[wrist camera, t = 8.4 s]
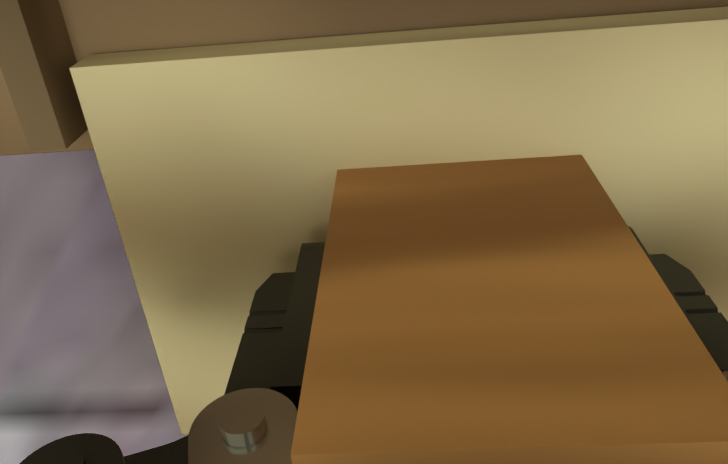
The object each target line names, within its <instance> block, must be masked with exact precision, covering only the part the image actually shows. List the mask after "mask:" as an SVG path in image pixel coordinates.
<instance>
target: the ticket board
mask: <svg viewBox="0 0 728 464" xmlns="http://www.w3.org/2000/svg"><path fill="white" fill-rule="evenodd" d="M727 6H728V0H0V156H2V155H18V154H33V153H49V152H64V151H79V150H94V147H93V144H92V140H91V137H90V134H89V131H88V127H87V124H86V121H85V118H84V114H83V111H82V108H81V105H80V101H79V98H78V95H77V92H76V88H75V85H74V82H73V79H72V75H71V72H70V69H69V68H70V67H72V66H73V65H75V64H76V63H78V62H79V61H81V60H82V59H84V58H85V57H87V56H88V55H90V54H104V53H117V52H130V51H144V50H157V49H170V48H183V47H197V46H210V45H223V44H236V43H250V42H263V41H276V40H289V39H303V38H316V37H329V36H343V35H356V34H369V33H382V32H396V31H409V30H422V29H435V28H449V27H462V26H475V25H488V24H502V23H515V22H528V21H542V20H555V19H568V18H581V17H595V16H608V15H621V14H634V13H648V12H661V11H674V10H687V9H701V8H714V7H727Z"/></svg>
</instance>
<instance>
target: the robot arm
mask: <svg viewBox="0 0 728 464" xmlns="http://www.w3.org/2000/svg"><path fill="white" fill-rule="evenodd" d="M628 227H629V229H630V230H631V232H632V233H633V235H634V237H635V238H636V240H637V241H638V243H639V244H640V246H641V247H642V249H643V251H644V252H645V254H646V255H647V257H648V258H649V260H650V262H651V263H652V265H653V266H654V268H655V269H656V271H657V272H658V274H659V276H660V277H661V279H662V280H663V282H664V283H665V285H666V286H667V288H668V290H669V291H670V293H671V294H672V296H673V297H674V299H675V300H676V302H677V304H678V305H679V307H680V308H681V310H682V311H683V313H684V314H685V316H686V318H687V319H688V321H689V322H690V324H691V325H692V327H693V328H694V330H695V332H696V333H697V335H698V336H699V338H700V339H701V341H702V342H703V344H704V346H705V347H706V349H707V350H708V352H709V353H710V355H711V356H712V358H713V360H714V361H715V363H716V364H717V366H718V367H719V369H720V370H721V372H722V374H723V375H724V377H725V378H726V380H727V381H728V321H727V320H726V319H725V317H724V316H723V314H722V313H721V312H720V313H718V308H717V306H716V305H715V303H714V302H713V301H712V299H711V298H710V296H709V295H706V293H705V292H706V291H705V290H704V288H703V287H702V285H701V284H700V283H699V281H698V280H697V278H696V277H695V276H694V274H693V273H692V272H691V270H689V269H688V268H686V267H685V266H683V265H681V264H680V263H678V262H677V261H675V260H674V259H672V258H671V257H669V256H668V255H666V254H649V253H648V252H647V250H646V249H645V247H644V246H643V244H642V243H641V241H640V240H639V238H638V237H637V235H636V233H635V232H634V230H633V229H632V228H631V227H630V226H628ZM324 248H325V242H313V243H302V245H301V248H300V253H299V257H298V262H297V266H296V271H295V272H285V273H273V274H272V275H271V276H270V277H269V278H268V279H267V280H266V281H265V282H264V283H263V284H262V285H261V286H260V287H259V288H258V289H257V290H256V291H255V295H254V298H253V301H252V305H251V308H250V311H249V313H250V315H249V316H248V318H247V321H246V324H245V328H244V333H243V334H242V338H241V341H240V344H239V348H238V351H237V354H236V357H235V361H234V364H233V367H232V371H231V374H230V377H229V381H228V384H227V387H226V390H225V394H224V395H223V396H221V397H219V398H217V399H216V400H214V401H213V402H211V403H210V404H208V405H207V406H206V407H205V408H204V409H203V410H202V411H201V412H200V413H199V414H198V415H197V417H196V418H195V420H194V421H193V423H192V425H191V428H190V431H189V435H187V436H186V437H184V438H181V439H179V440H177V441H175V442H172V443H169V444H166V445H163V446H159V447H156V448H152V449H149V450H146V451H142V452H139V453H135V454H132V455H129V456H125V457H123V454H122V452H121V450H120V448H119V446H118V445H117V444H116V443H115V441H113V440H112V439H110V438H108V437H106V436H103V435H99V434H92V433H84V434H75V435H71V436H67V437H64V438H61V439H58V440H55V441H53V442H51V443H49V444H47V445H45V446H43V447H41V448H40V449H38V450H36V451H35V452H33V453H32V454H31V455H29V456H28V457H27V458H26V459H24V460H23V461H22V462H21V463H20V464H292V460H291V449H292V443H293V436H294V430H295V424H296V418H297V412H298V406H299V400H300V394H301V388H302V382H303V376H304V369H305V363H306V357H307V351H308V345H309V339H310V333H311V327H312V321H313V315H314V309H315V302H316V296H317V290H318V284H319V278H320V272H321V266H322V260H323V254H324Z"/></svg>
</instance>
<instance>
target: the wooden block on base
mask: <svg viewBox="0 0 728 464" xmlns="http://www.w3.org/2000/svg"><path fill="white" fill-rule="evenodd" d="M69 69H70V72H71V75H72V79H73V82H74V85H75V88H76V92H77V95H78V98H79V101H80V105H81V108H82V111H83V114H84V118H85V121H86V124H87V127H88V131H89V134H90V137H91V140H92V144H93V147H94V150H95V153H96V157H97V160H98V163H99V167H100V170H101V173H102V176H103V180H104V183H105V186H106V189H107V193H108V196H109V199H110V202H111V206H112V209H113V212H114V215H115V219H116V222H117V225H118V228H119V232H120V235H121V238H122V241H123V245H124V248H125V251H126V254H127V258H128V261H129V264H130V267H131V271H132V274H133V277H134V281H135V284H136V287H137V290H138V294H139V297H140V300H141V303H142V307H143V310H144V313H145V316H146V320H147V323H148V326H149V329H150V333H151V336H152V339H153V342H154V346H155V349H156V352H157V355H158V359H159V362H160V365H161V368H162V372H163V375H164V378H165V381H166V385H167V388H168V391H169V394H170V398H171V401H172V404H173V408H174V411H175V414H176V417H177V421H178V424H179V427H180V430H181V434H189V431H190V428H191V425H192V423H193V421H194V420H195V418H196V417H197V415H198V414H199V413H200V412H201V411H202V410H203V409H204V408H205V407H206V406H207V405H208V404H210V403H211V402H213V401H214V400H216V399H217V398H219V397H221V396H223V395H224V394H225V390H226V387H227V384H228V381H229V377H230V374H231V371H232V367H233V364H234V361H235V357H236V354H237V351H238V348H239V344H240V341H241V338H242V334H243V333H244V328H245V324H246V321H247V318H248V316H249V315H250V313H249V311H250V308H251V305H252V301H253V298H254V295H255V291H256V290H257V289H258V288H259V287H260V286H261V285H262V284H263V283H264V282H265V281H266V280H267V279H268V278H269V277H270V276H271V275H272V274H273V273H285V272H295V271H296V266H297V262H298V257H299V253H300V248H301V245H302V243H313V242H325V248H324V254H323V260H322V266H321V272H320V278H319V284H318V290H317V296H316V302H315V309H314V315H313V321H312V327H311V333H310V339H309V345H308V351H307V357H306V363H305V369H304V376H303V382H302V388H301V394H300V400H299V406H298V412H297V418H296V424H295V430H294V436H293V443H292V449H291V460H292V464H728V381H727V380H726V378H725V377H724V375H723V374H722V372H721V370H720V369H719V367H718V366H717V364H716V363H715V361H714V360H713V358H712V356H711V355H710V353H709V352H708V350H707V349H706V347H705V346H704V344H703V342H702V341H701V339H700V338H699V336H698V335H697V333H696V332H695V330H694V328H693V327H692V325H691V324H690V322H689V321H688V319H687V318H686V316H685V314H684V313H683V311H682V310H681V308H680V307H679V305H678V304H677V302H676V300H675V299H674V297H673V296H672V294H671V293H670V291H669V290H668V288H667V286H666V285H665V283H664V282H663V280H662V279H661V277H660V276H659V274H658V272H657V271H656V269H655V268H654V266H653V265H652V263H651V262H650V260H649V258H648V257H647V255H646V254H645V252H644V251H643V249H642V247H641V246H640V244H639V243H638V241H637V240H636V238H635V237H634V235H633V233H632V232H631V230H630V229H629V227H628V226H630V227H631V228H632V229H633V230H634V232H635V233H636V235H637V237H638V238H639V240H640V241H641V243H642V244H643V246H644V247H645V249H646V250H647V252H648V253H649V254H666V255H668V256H669V257H671V258H672V259H674V260H675V261H677V262H678V263H680V264H681V265H683V266H685V267H686V268H688V269H689V270H691V272H692V273H693V274H694V276H695V277H696V278H697V280H698V281H699V283H700V284H701V285H702V287H703V288H704V290H705V291H706V292H705V293H706V295H709V296H710V298H711V299H712V301H713V302H714V303H715V305H716V306H717V308H718V313H720V312H721V313H722V314H723V316H724V317H725V319H726V320H727V321H728V6H727V7H714V8H701V9H687V10H674V11H661V12H648V13H634V14H621V15H608V16H595V17H581V18H568V19H555V20H542V21H528V22H515V23H502V24H488V25H475V26H462V27H449V28H435V29H422V30H409V31H396V32H382V33H369V34H356V35H343V36H329V37H316V38H303V39H289V40H276V41H263V42H250V43H236V44H223V45H210V46H197V47H183V48H170V49H157V50H144V51H130V52H117V53H104V54H90V55H88V56H87V57H85V58H84V59H82V60H81V61H79V62H78V63H76V64H75V65H73V66H72V67H70V68H69Z"/></svg>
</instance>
